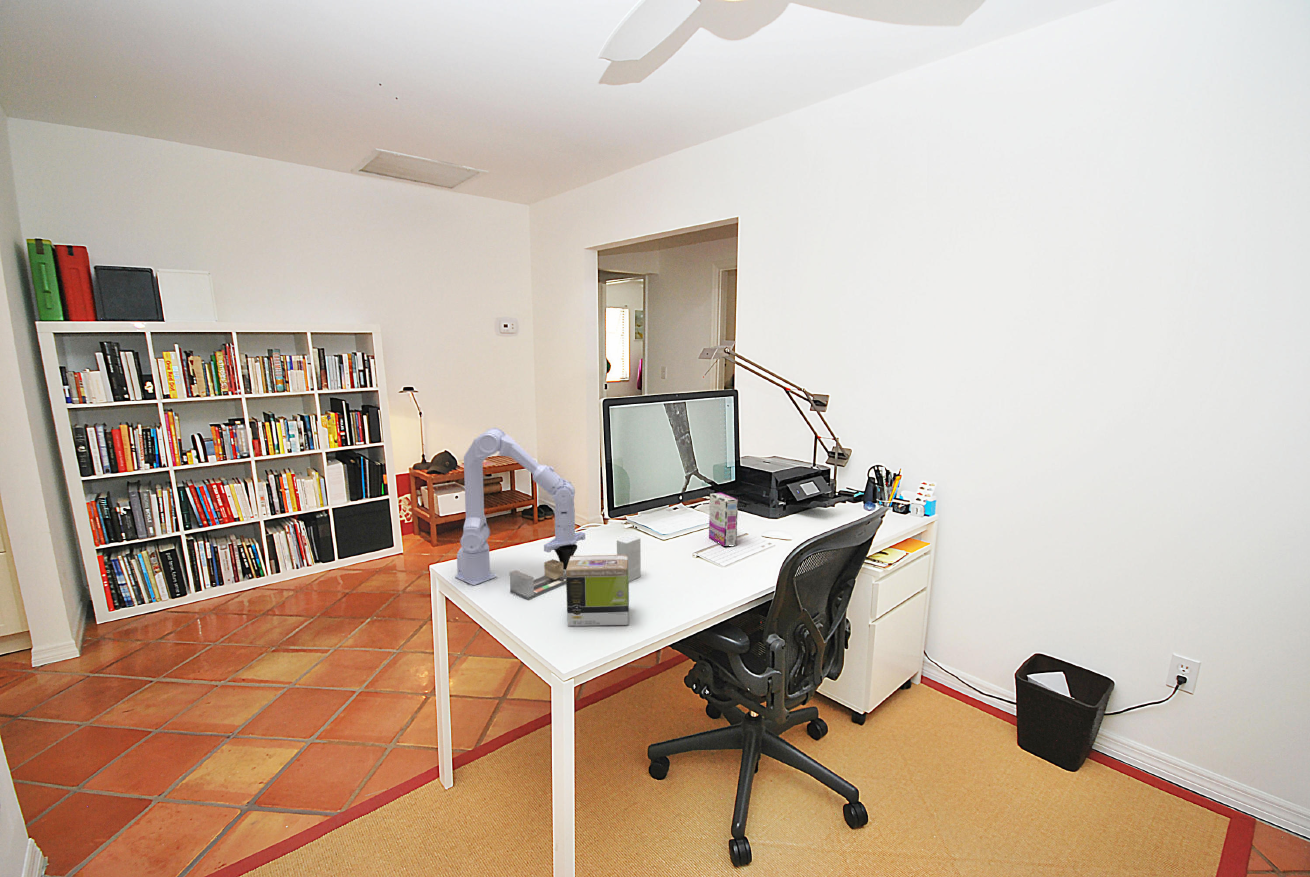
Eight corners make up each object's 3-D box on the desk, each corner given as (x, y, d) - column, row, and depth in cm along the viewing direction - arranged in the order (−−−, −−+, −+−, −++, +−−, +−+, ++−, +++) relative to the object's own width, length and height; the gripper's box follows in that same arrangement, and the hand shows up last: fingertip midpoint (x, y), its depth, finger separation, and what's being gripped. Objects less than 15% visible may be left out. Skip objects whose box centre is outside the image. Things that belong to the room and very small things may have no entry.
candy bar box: (737, 546, 193) (738, 499, 191) (724, 548, 191) (726, 501, 189) (720, 536, 203) (721, 491, 201) (708, 538, 201) (709, 493, 199)
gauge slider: (554, 573, 166) (553, 558, 165) (568, 578, 162) (568, 563, 162) (544, 576, 163) (544, 562, 163) (559, 582, 160) (558, 567, 159)
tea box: (629, 607, 148) (629, 553, 145) (628, 626, 138) (628, 568, 135) (571, 608, 147) (570, 553, 145) (566, 627, 137) (565, 569, 135)
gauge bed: (551, 575, 168) (551, 556, 167) (569, 582, 163) (569, 562, 162) (510, 592, 156) (509, 572, 155) (528, 600, 151) (527, 579, 150)
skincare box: (630, 573, 170) (630, 534, 168) (641, 576, 167) (641, 537, 165) (616, 579, 165) (616, 539, 163) (627, 583, 163) (627, 543, 161)
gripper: (555, 533, 156) (556, 580, 158) (592, 520, 168) (592, 564, 170) (538, 528, 161) (539, 573, 163) (575, 516, 172) (576, 559, 174)
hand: (565, 568), depth 167 cm, fingers closed
